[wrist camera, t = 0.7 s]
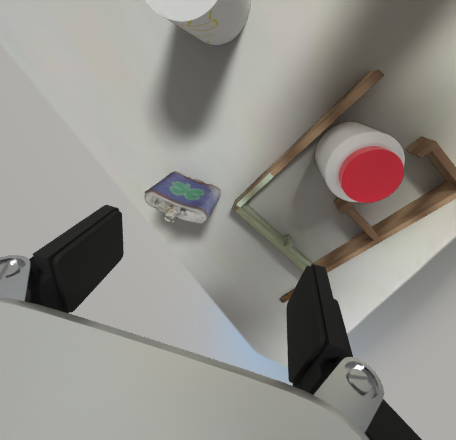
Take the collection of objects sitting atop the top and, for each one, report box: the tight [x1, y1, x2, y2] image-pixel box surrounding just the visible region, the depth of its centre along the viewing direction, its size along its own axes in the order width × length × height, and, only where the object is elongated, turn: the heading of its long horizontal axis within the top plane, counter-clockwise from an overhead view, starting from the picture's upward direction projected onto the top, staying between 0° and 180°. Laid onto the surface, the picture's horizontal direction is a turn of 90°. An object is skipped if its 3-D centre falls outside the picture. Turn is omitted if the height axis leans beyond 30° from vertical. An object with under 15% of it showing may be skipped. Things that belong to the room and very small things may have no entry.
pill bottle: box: [315, 122, 405, 203], centre depth 28 cm, size 8×8×11 cm
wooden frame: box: [232, 70, 456, 272], centre depth 34 cm, size 24×19×3 cm
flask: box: [145, 172, 221, 224], centre depth 35 cm, size 9×3×11 cm, turn 72°
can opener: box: [280, 289, 295, 303], centre depth 45 cm, size 9×2×1 cm, turn 136°
